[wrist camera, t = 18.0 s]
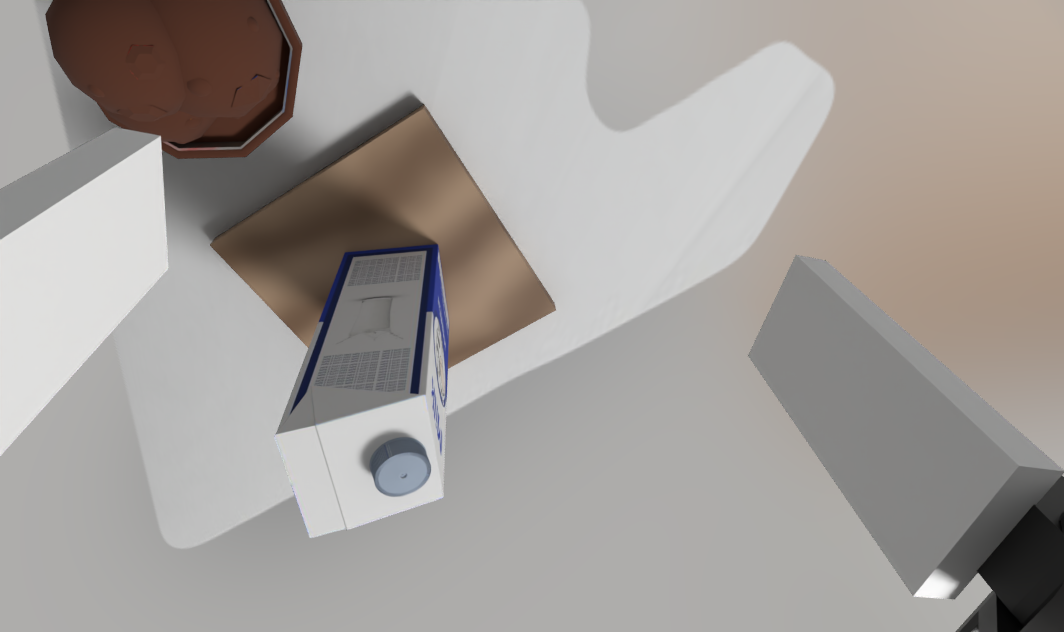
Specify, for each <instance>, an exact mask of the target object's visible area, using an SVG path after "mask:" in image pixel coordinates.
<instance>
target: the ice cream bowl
mask: <svg viewBox="0 0 1064 632" xmlns="http://www.w3.org/2000/svg"><path fill="white" fill-rule="evenodd" d="M45 15H46V21H47V26H48V31H49V36H50V41H51V45H52V50H53V55H54V58H55V59H56V61H57V62H58V64H59V65H60V67H61V68H62V69H63V71H64V72H65V74H66V75H67V77H68V78H69V80H70V81H71V83H72V84H73V85H74V86H75V87H77V88H78V89H80V90H81V91H82V92H84V93H85V94H86V95H88V96H89V97H91V98H92V99H93V100H95V101H96V102H97V104H98V105H99V106H100V108H101V109H102V111H103V112H104V114H105V115H106V117H107V118H108V120H109V121H111V122H112V123H114V124H116V125H118V126H120V127H121V128H123V129H127V130H133V131H138V132H143V133H149V134H154V135H159V136H161V147H162V150H163V151H165V152H167V153H168V154H170V155H172V156H174V157H176V158H177V159H188V158H227V157H246V156H247V155H249V154H250V153H251V152H252V151H253V150H254V149H256V148H257V147H258V146H259V145H260V144H261V143H263V142H264V141H265V140H266V139H267V138H268V137H270V136H271V135H272V134H273V133H274V132H275V131H277V130H278V129H279V128H280V127H281V126H282V125H284V124H285V123H286V122H287V121H288V120H289V119H291V118H292V117H293V109H294V102H295V95H296V88H297V80H298V73H299V66H300V58H301V51H302V42H301V40H300V38H299V36H298V34H297V32H296V30H295V28H294V26H293V24H292V22H291V19H290V17H289V15H288V13H287V11H286V9H285V7H284V5H283V3H282V1H281V0H53V1H52V3H51V5H50V7H49V9H48V11H47V12H46V14H45Z"/></svg>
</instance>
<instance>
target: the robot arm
mask: <svg viewBox="0 0 1064 632" xmlns="http://www.w3.org/2000/svg"><path fill="white" fill-rule="evenodd" d="M167 270H168V253H167V235H166V218H165V200H164V182H163V165H162V147H161V136H159V135H154V134H149V133H143V132H138V131H133V130H127V129H122V128H117V127H115V128H113V129H111V130H109V131H107V132H105V133H103V134H102V135H100V136H98V137H96V138H94V139H92V140H90V141H89V142H87V143H85V144H83V145H81V146H79V147H77V148H76V149H74V150H72V151H70V152H68V153H66V154H65V155H63V156H61V157H59V158H57V159H55V160H53V161H51V162H50V163H48V164H46V165H44V166H42V167H41V168H38V169H37V170H35V171H33V172H31V173H29V174H27V175H25V176H24V177H22V178H20V179H18V180H17V181H14V182H13V183H11V184H9V185H7V186H5V187H3V188H1V189H0V456H1V455H2V453H3V452H4V451H5V450H6V449H7V448H8V447H9V446H10V445H11V443H12V442H13V441H14V440H15V439H16V438H17V436H19V435H20V433H21V432H22V431H23V430H24V429H25V428H26V427H27V426H28V425H29V423H30V422H31V421H32V420H33V419H34V418H35V417H36V416H37V415H38V413H39V412H40V411H41V410H42V409H43V408H44V407H45V406H46V405H47V403H48V402H49V401H50V400H51V399H52V398H53V397H54V395H55V394H56V393H57V392H58V391H59V390H60V389H61V388H62V386H64V384H65V383H66V382H67V381H68V380H69V379H70V378H71V377H72V376H73V374H74V373H75V372H76V371H77V370H78V369H79V368H80V367H81V365H82V364H83V363H84V362H85V361H86V360H87V359H88V358H89V357H90V355H91V354H92V353H93V352H94V351H95V350H96V349H97V348H98V347H99V345H100V344H101V343H102V342H103V341H104V340H105V339H106V338H107V336H108V335H109V334H110V333H111V332H112V331H113V330H114V329H115V328H116V326H117V325H118V324H119V323H120V322H121V321H122V320H123V319H124V318H125V316H126V315H127V314H128V313H129V312H130V311H131V310H132V309H133V307H134V306H135V305H136V304H137V303H138V302H139V301H140V300H141V299H142V297H143V296H144V295H145V294H146V293H147V292H148V291H149V290H150V288H151V287H152V286H153V285H154V284H155V283H156V282H157V281H158V280H159V278H160V277H161V276H162V275H163V274H164V273H165V272H166V271H167ZM748 356H749V358H750V359H751V361H752V362H753V364H754V365H755V367H757V369H758V371H759V372H760V374H761V375H762V377H763V378H764V380H765V381H766V382H767V384H768V385H769V387H770V388H771V390H772V391H773V393H774V394H775V395H776V397H777V398H778V400H779V401H780V403H781V404H782V406H783V407H784V409H785V410H786V412H787V413H788V414H789V416H790V417H791V419H792V420H793V422H794V423H795V425H796V426H797V428H798V429H799V431H800V432H801V434H802V435H803V436H804V438H805V439H806V441H807V442H808V444H809V445H810V447H811V448H812V450H813V451H814V452H815V454H816V455H817V457H818V458H819V460H820V461H821V463H822V464H823V466H824V467H825V468H826V470H827V471H828V473H829V474H830V476H831V477H832V479H833V480H834V482H835V483H836V485H837V486H838V487H839V489H840V490H841V492H842V493H843V495H844V496H845V498H846V499H847V501H848V502H849V503H850V505H851V506H852V508H853V509H854V511H855V512H856V514H857V515H858V517H859V518H860V519H861V521H862V522H863V524H864V525H865V527H866V528H867V530H868V531H869V533H870V534H871V536H872V537H873V538H874V540H875V541H876V543H877V544H878V546H879V547H880V549H881V550H882V551H883V553H884V554H885V556H886V557H887V559H888V560H889V562H890V563H891V565H892V566H893V567H894V569H895V571H896V572H897V573H898V575H899V576H900V578H901V579H902V581H903V582H904V584H905V585H906V587H907V588H908V589H909V591H910V592H911V594H912V595H913V596H915V597H929V598H943V599H955V598H956V597H957V596H958V595H959V594H960V593H961V591H962V590H963V589H964V588H965V587H966V586H967V585H968V583H969V582H970V581H971V580H972V579H973V578H974V576H975V575H976V574H977V573H979V574H980V575H981V576H982V578H983V579H984V580H985V581H986V583H987V584H988V585H989V586H990V587H991V589H992V590H993V591H992V592H991V593H990V594H989V595H988V596H987V597H986V598H985V600H984V601H983V602H982V603H981V604H980V605H979V606H978V608H977V609H976V610H975V611H974V612H973V613H972V614H971V615H970V616H969V617H968V619H967V620H966V621H965V622H964V623H963V624H962V625H961V626H960V627H959V629H958V630H957V631H956V632H1064V477H1063V476H1062V474H1063V473H1064V470H1063V469H1062V468H1061V467H1059V466H1058V465H1057V464H1056V463H1055V462H1054V461H1052V460H1051V459H1050V458H1049V457H1048V456H1047V455H1046V454H1045V453H1044V452H1042V451H1041V450H1040V449H1039V448H1038V447H1037V446H1036V445H1034V444H1033V443H1032V442H1031V441H1030V440H1029V439H1028V438H1027V437H1025V436H1024V435H1023V434H1022V433H1021V432H1020V431H1019V430H1017V429H1016V428H1015V427H1014V426H1013V425H1012V424H1011V423H1009V422H1008V421H1007V420H1006V419H1005V418H1004V417H1003V416H1002V415H1000V414H999V413H998V412H997V411H996V410H995V409H994V408H992V407H991V406H990V405H989V404H988V403H987V402H986V401H985V400H983V399H982V398H981V397H980V396H979V395H978V394H977V393H976V392H974V391H973V390H972V389H971V388H970V387H969V386H968V385H966V384H965V383H964V382H963V381H962V380H961V379H959V378H958V377H957V376H956V375H955V374H954V373H953V372H952V371H951V370H949V369H948V368H947V367H946V366H945V365H944V364H943V363H941V362H940V361H939V360H938V359H937V358H936V357H935V356H934V355H932V354H931V353H930V352H929V351H928V350H927V349H926V348H924V347H923V346H922V345H921V344H920V343H919V342H918V341H917V340H915V339H914V338H913V337H912V336H911V335H910V334H909V333H908V332H906V331H905V330H904V329H903V328H902V327H901V326H900V325H898V324H897V323H896V322H895V321H894V320H893V319H892V318H891V317H889V316H888V315H887V314H886V313H885V312H884V311H883V310H881V309H880V308H879V307H878V306H877V305H876V304H875V303H874V302H872V301H871V300H870V299H869V298H868V297H867V296H866V295H864V294H863V293H862V292H861V291H860V290H859V289H857V288H856V287H855V286H854V285H853V284H852V283H851V282H850V281H849V280H847V279H846V278H845V277H844V276H843V275H842V274H841V273H839V272H838V271H837V270H836V269H835V268H834V267H833V266H832V265H830V264H829V263H828V262H827V261H826V260H820V259H814V258H810V257H804V256H799V255H796V256H795V258H794V260H793V262H792V264H791V267H790V269H789V271H788V273H787V275H786V277H785V279H784V281H783V283H782V285H781V287H780V289H779V292H778V294H777V296H776V298H775V300H774V302H773V304H772V306H771V308H770V311H769V313H768V315H767V317H766V319H765V321H764V323H763V325H762V328H761V329H760V332H759V334H758V336H757V338H756V340H755V342H754V344H753V346H752V349H751V351H750V352H749V355H748Z"/></svg>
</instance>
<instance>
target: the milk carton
mask: <svg viewBox="0 0 1064 632" xmlns="http://www.w3.org/2000/svg"><path fill="white" fill-rule="evenodd" d="M448 346H449V316H448V309H447V302H446V295H445V288H444V281H443V274H442V267H441V260H440V253H439V246H438V244H434V245H422V246H411V247H400V248H388V249H377V250H366V251H354V252H345V253H344V256H343V258H342V261H341V264H340V266H339V269H338V272H337V274H336V277H335V280H334V282H333V285H332V287H331V290H330V293H329V295H328V298H327V301H326V303H325V306H324V309H323V311H322V314H321V317H320V319H319V322H318V324H317V327H316V330H315V332H314V335H313V338H312V340H311V343H310V346H309V348H308V351H307V354H306V356H305V359H304V361H303V364H302V367H301V369H300V372H299V375H298V377H297V380H296V383H295V385H294V388H293V391H292V393H291V396H290V398H289V401H288V404H287V406H286V409H285V412H284V414H283V417H282V420H281V422H280V425H279V428H278V430H277V433H276V434H275V435H274V437H275V440H276V443H277V446H278V449H279V451H280V454H281V457H282V460H283V463H284V466H285V469H286V472H287V474H288V477H289V480H290V483H291V486H292V489H293V492H294V495H295V497H296V500H297V503H298V506H299V509H300V511H301V515H302V517H303V520H304V523H305V526H306V529H307V532H308V534H309V537H310V538H313V537H317V536H320V535H324V534H328V533H331V532H335V531H339V530H343V529H346V530H349V529H352V528H355V527H357V526H360V525H364V524H367V523H370V522H372V521H375V520H378V519H381V518H384V517H387V516H390V515H393V514H396V513H399V512H402V511H405V510H408V509H411V508H414V507H417V506H420V505H423V504H426V503H429V502H432V501H435V500H438V499H441V498H443V486H444V458H445V457H444V456H445V430H446V429H445V428H446V402H447V374H448Z"/></svg>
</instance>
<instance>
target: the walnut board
mask: <svg viewBox="0 0 1064 632" xmlns="http://www.w3.org/2000/svg"><path fill="white" fill-rule="evenodd" d="M434 244H438V246H439V253H440V260H441V267H442V274H443V281H444V288H445V295H446V302H447V309H448V316H449V346H448V368H450V367H452V366H454V365H456V364H458V363H459V362H461V361H463V360H465V359H467V358H469V357H470V356H472V355H474V354H476V353H478V352H480V351H482V350H483V349H485V348H487V347H489V346H491V345H493V344H494V343H496V342H498V341H500V340H502V339H504V338H506V337H507V336H509V335H511V334H513V333H515V332H517V331H518V330H520V329H522V328H524V327H526V326H528V325H529V324H531V323H533V322H535V321H537V320H539V319H541V318H542V317H544V316H546V315H548V314H550V313H552V312H553V311H555V310H556V308H555V304H554V302H553V300H552V299H551V297H550V296H549V294H548V293H547V291H546V289H545V288H544V286H543V285H542V283H541V282H540V280H539V279H538V277H537V276H536V274H535V273H534V271H533V270H532V268H531V267H530V265H529V264H528V262H527V260H526V259H525V257H524V256H523V254H522V253H521V251H520V250H519V248H518V247H517V245H516V244H515V242H514V241H513V239H512V238H511V236H510V235H509V233H508V232H507V230H506V228H505V227H504V225H503V224H502V222H501V221H500V219H499V218H498V216H497V215H496V213H495V212H494V210H493V209H492V207H491V206H490V204H489V203H488V201H487V199H486V198H485V196H484V195H483V193H482V192H481V190H480V189H479V187H478V186H477V184H476V183H475V181H474V180H473V178H472V177H471V175H470V174H469V172H468V171H467V169H466V167H465V166H464V164H463V163H462V161H461V160H460V158H459V157H458V155H457V154H456V152H455V151H454V149H453V148H452V146H451V145H450V143H449V142H448V140H447V139H446V137H445V135H444V134H443V132H442V131H441V129H440V128H439V126H438V125H437V123H436V122H435V120H434V119H433V117H432V116H431V114H430V113H429V111H428V110H427V108H426V106H425V105H422V106H421V107H419V108H418V109H416V110H415V111H413V112H412V113H410V114H408V115H407V116H405V117H404V118H402V119H401V120H399V121H397V122H396V123H394V124H393V125H391V126H390V127H388V128H387V129H385V130H383V131H382V132H380V133H379V134H377V135H376V136H374V137H373V138H371V139H369V140H368V141H366V142H365V143H363V144H362V145H360V146H358V147H357V148H355V149H354V150H352V151H351V152H349V153H348V154H346V155H344V156H343V157H341V158H340V159H338V160H337V161H335V162H333V163H332V164H330V165H329V166H327V167H326V168H324V169H323V170H321V171H319V172H318V173H316V174H315V175H313V176H312V177H310V178H308V179H307V180H305V181H304V182H302V183H301V184H299V185H298V186H296V187H294V188H293V189H291V190H290V191H288V192H287V193H285V194H283V195H282V196H280V197H279V198H277V199H276V200H274V201H273V202H271V203H269V204H268V205H266V206H265V207H263V208H262V209H260V210H258V211H257V212H255V213H254V214H252V215H251V216H249V217H248V218H246V219H244V220H243V221H241V222H240V223H238V224H237V225H235V226H233V227H232V228H230V229H229V230H227V231H226V232H224V233H223V234H221V235H219V236H218V237H216V238H215V239H214V240H213V242H212V243H211V244H210V246H211V247H212V248H213V249H214V250H215V251H216V252H217V253H218V254H219V255H220V256H221V257H222V258H223V259H224V260H225V261H226V262H227V264H228V265H229V266H230V267H231V268H232V269H233V270H234V271H235V272H236V273H237V274H238V275H239V276H240V277H241V278H242V279H243V280H244V281H245V282H246V283H247V284H248V285H249V286H250V288H251V289H252V290H253V291H254V292H255V293H256V294H257V295H258V296H259V297H260V298H261V299H262V300H263V301H264V302H265V303H266V304H267V305H268V306H269V307H270V308H271V309H272V310H273V312H274V313H275V314H276V315H277V316H278V317H279V318H280V319H281V320H282V321H283V322H284V323H285V324H286V325H287V326H288V327H289V328H290V329H291V330H292V331H293V332H294V333H295V334H296V336H297V337H298V338H299V339H300V340H301V341H302V342H303V343H304V344H305V345H306V346H307V347H308V348H309V346H310V343H311V340H312V338H313V335H314V332H315V330H316V327H317V324H318V322H319V319H320V317H321V314H322V311H323V309H324V306H325V303H326V301H327V298H328V295H329V293H330V290H331V287H332V285H333V282H334V280H335V277H336V274H337V272H338V269H339V266H340V264H341V261H342V258H343V256H344V253H345V252H354V251H366V250H377V249H388V248H400V247H411V246H422V245H434Z"/></svg>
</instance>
